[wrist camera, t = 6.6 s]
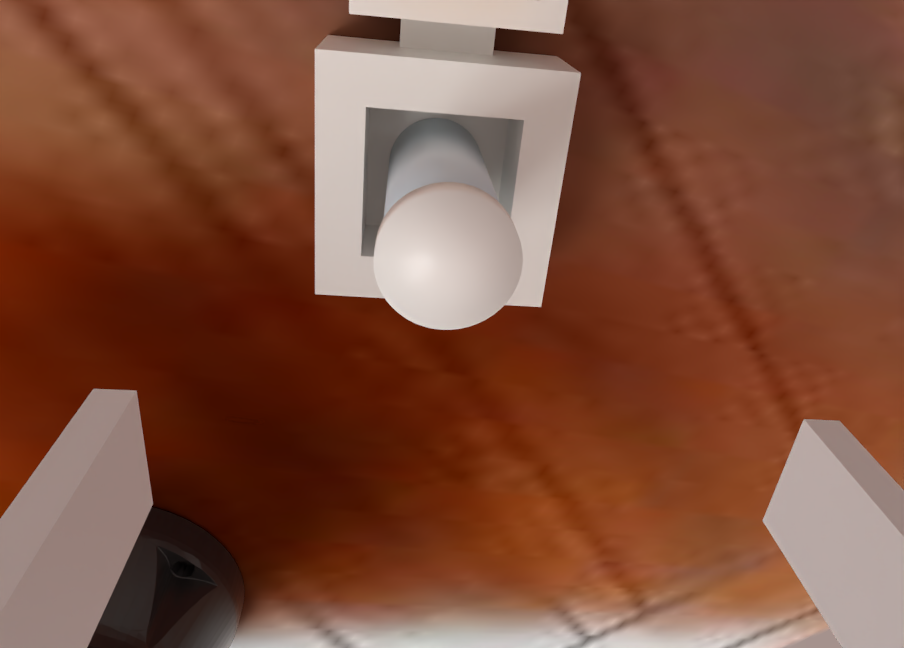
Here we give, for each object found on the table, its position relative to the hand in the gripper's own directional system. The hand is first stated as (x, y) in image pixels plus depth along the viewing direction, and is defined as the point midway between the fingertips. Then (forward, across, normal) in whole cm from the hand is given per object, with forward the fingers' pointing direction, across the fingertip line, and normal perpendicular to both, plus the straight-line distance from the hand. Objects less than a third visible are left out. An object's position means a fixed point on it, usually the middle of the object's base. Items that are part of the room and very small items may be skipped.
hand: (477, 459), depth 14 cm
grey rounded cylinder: (+22, 0, 0) cm, 22 cm away
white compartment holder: (+23, 0, -5) cm, 23 cm away
